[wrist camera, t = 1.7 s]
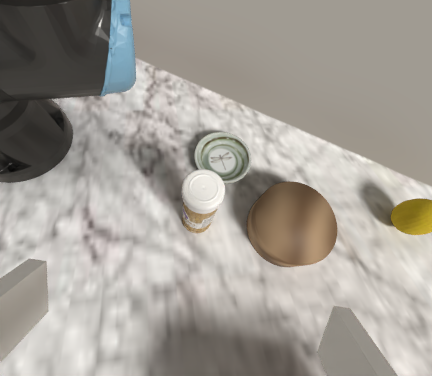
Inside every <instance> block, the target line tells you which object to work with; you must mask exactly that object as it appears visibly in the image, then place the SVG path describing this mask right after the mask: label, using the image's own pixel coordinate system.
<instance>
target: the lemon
mask: <svg viewBox="0 0 432 376" xmlns="http://www.w3.org/2000/svg"><path fill="white" fill-rule="evenodd" d="M391 221H392V223H393V225H394V226H395V227H396V228H397V229H398V230H399V231H401V232H403V233H406V234H411V235H422V234H427V233H430V232H432V200H429V199H412V200H407V201H404V202H402V203H400V204H399V205H397V206H396V207H395V208H394V209H393V211H392V213H391Z"/></svg>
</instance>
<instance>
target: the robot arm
mask: <svg viewBox="0 0 432 376" xmlns="http://www.w3.org/2000/svg"><path fill="white" fill-rule="evenodd" d="M135 81H136V63H135V50H134V38H133V29H132V24H131V11H130V0H0V182H6V183H11V182H21V181H26V180H29V179H33V178H35V177H38V176H40V175H42V174H44V173H46V172H48V171H49V170H51V169H52V168H53V167H55V166H56V165H57V164H58V163H59V162H60V161H61V160H62V159H63V158H64V157H65V155H66V154H67V152H68V150H69V148H70V146H71V143H72V139H73V130H72V126H71V123H70V121H69V119H68V118H67V116H66V115H65V114H64V112H63V111H62V110H61V108H60V107H59V106H58V105H56V104H55V103H54V102H53V101H51V100H50V99H56V98H70V97H85V96H105V95H106V94H110V93H118V92H125V91H127V90H129V89H131V88H132V87H133V85H134V84H135ZM47 312H48V289H47V262H46V261H41V260H35V259H28V260H27V261H25V262H24V263H22V264H21V265H19V266H18V267H16V268H15V269H14V270H12V271H11V272H9V273H8V274H6V275H5V276H3V277H2V278H1V279H0V363H1V362H2V361H3V359H4V358H5V357H6V356H7V355H8V354H9V353H10V352H11V351H12V350H13V349H14V348H15V347H16V346H17V344H18V343H19V342H20V341H21V340H22V339H23V338H24V337H25V336H26V335H27V334H28V333H29V332H30V331H31V329H32V328H33V327H34V326H35V325H36V324H37V323H38V322H39V321H40V320H41V319H42V318H43V317H44V316H45V314H46V313H47ZM317 353H318V355H319V358H320V360H321V362H322V365H323V367H324V370H325V372H326V374H327V376H397V374H396V373H395V371H394V370H393V369H392V367H391V366H390V364H389V363H388V362H387V360H386V359H385V357H384V356H383V354H382V353H381V352H380V350H379V349H378V347H377V346H376V345H375V343H374V342H373V340H372V339H371V337H370V336H369V335H368V333H367V332H366V330H365V329H364V328H363V326H362V325H361V323H360V322H359V320H358V319H357V318H356V316H355V315H354V313H353V312H352V311H351V309H350V308H343V307H337V306H334V307H333V310H332V312H331V315H330V318H329V321H328V323H327V326H326V329H325V332H324V334H323V337H322V340H321V343H320V345H319V348H318V351H317Z"/></svg>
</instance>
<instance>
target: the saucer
mask: <svg viewBox="0 0 432 376" xmlns="http://www.w3.org/2000/svg"><path fill="white" fill-rule="evenodd" d="M194 160H195V164H196V166H197V168H198V170H199V169H207V170H211V171H213V172H215V173H216V174H218V175H219V176H220V177H221V179H222V180H223V182H224V184H230V183H234V182H237V181H239V180H240V179H242V178H243V177H244V176H245V175H246V174H247V172H248V171H249V169H250V166H251V154H250V151H249V149H248V147H247V145H246V144H245V143H244V142H243V141H242V140H241V139H240V138H238V137H237V136H235V135H233V134H230V133H226V132H215V133H211V134H208V135H206V136H205V137H203V138H202V139H201V140H200V141H199V142H198V144H197V146H196V148H195V152H194Z"/></svg>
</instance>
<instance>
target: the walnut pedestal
mask: <svg viewBox="0 0 432 376" xmlns="http://www.w3.org/2000/svg"><path fill="white" fill-rule="evenodd" d="M247 232H248V236H249V239H250V242H251V244H252V246H253V247H254V249H255V250H256V251H257V253H258V254H259V255H260V256H261V257H262V258H264V259H265V260H266V261H268V262H270V263H272V264H274V265H277V266H282V267H294V266H303V265H310V264H314V263H317V262H319V261H321V260H322V259H324V258H325V257H326V256H327V255H328V254H329V253H330V252H331V250H332V249H333V247H334V245H335V242H336V238H337V223H336V218H335V215H334V213H333V210H332V208H331V207H330V205H329V203H328V202H327V201H326V199H325V198H324V197H323V196H322V195H321V194H320V193H318V192H317V191H316V190H314V189H313V188H311V187H309V186H307V185H305V184H302V183H298V182H282V183H278V184H276V185H274V186H272V187H270V188H269V189H268V190H266V191H265V193H264V194H263V195H262V196H261V197H260V198H259V199H258V200H257V201H256V202H255V203H254V205H253V206H252V207H251V209H250V211H249V214H248V218H247Z"/></svg>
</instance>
